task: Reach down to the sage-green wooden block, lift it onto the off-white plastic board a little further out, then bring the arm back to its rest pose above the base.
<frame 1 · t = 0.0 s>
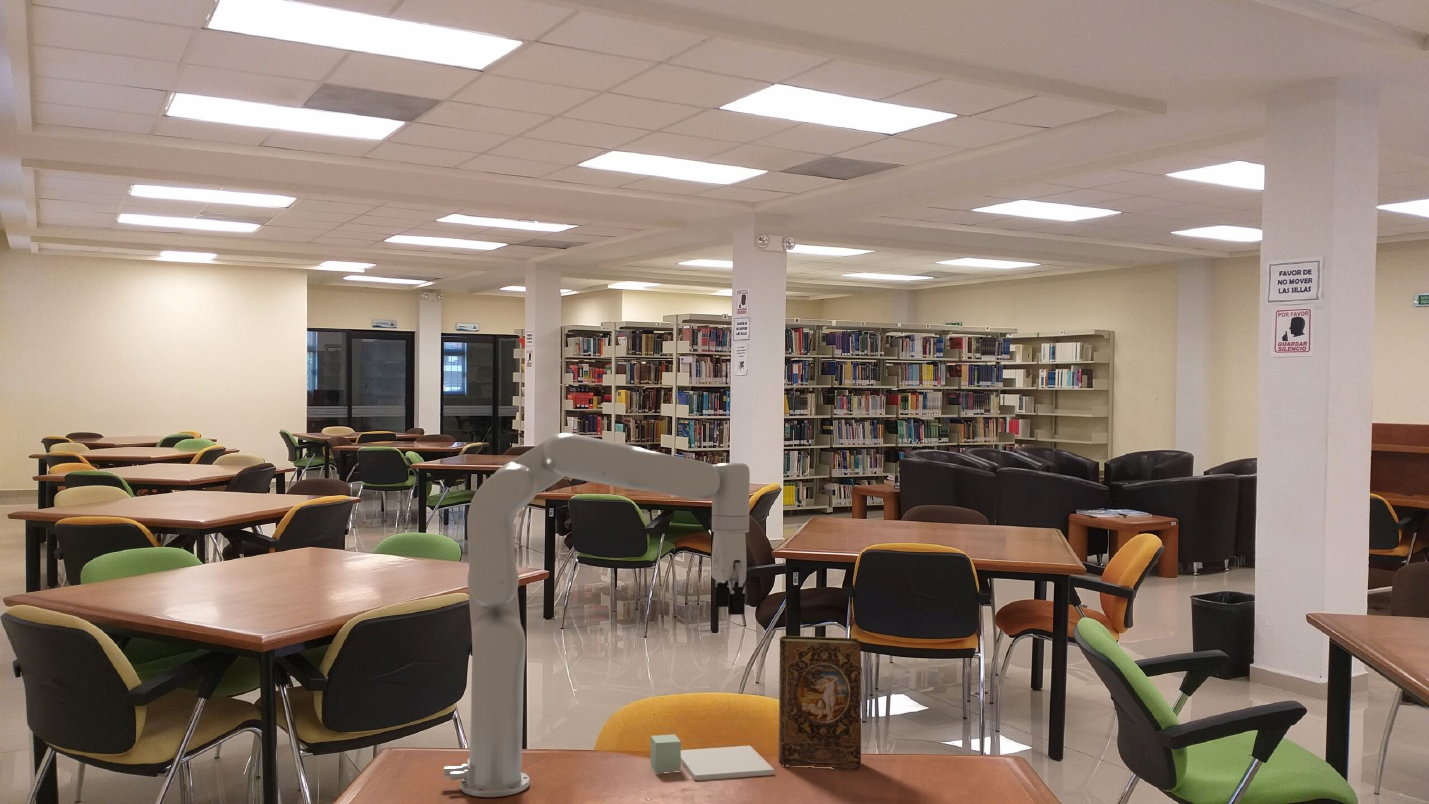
hand: (729, 610, 193), 31 cm above the table, fingers open, 9 cm apart
pale board: (723, 764, 195), on the table
block: (665, 769, 191), on the table
book: (819, 765, 196), on the table
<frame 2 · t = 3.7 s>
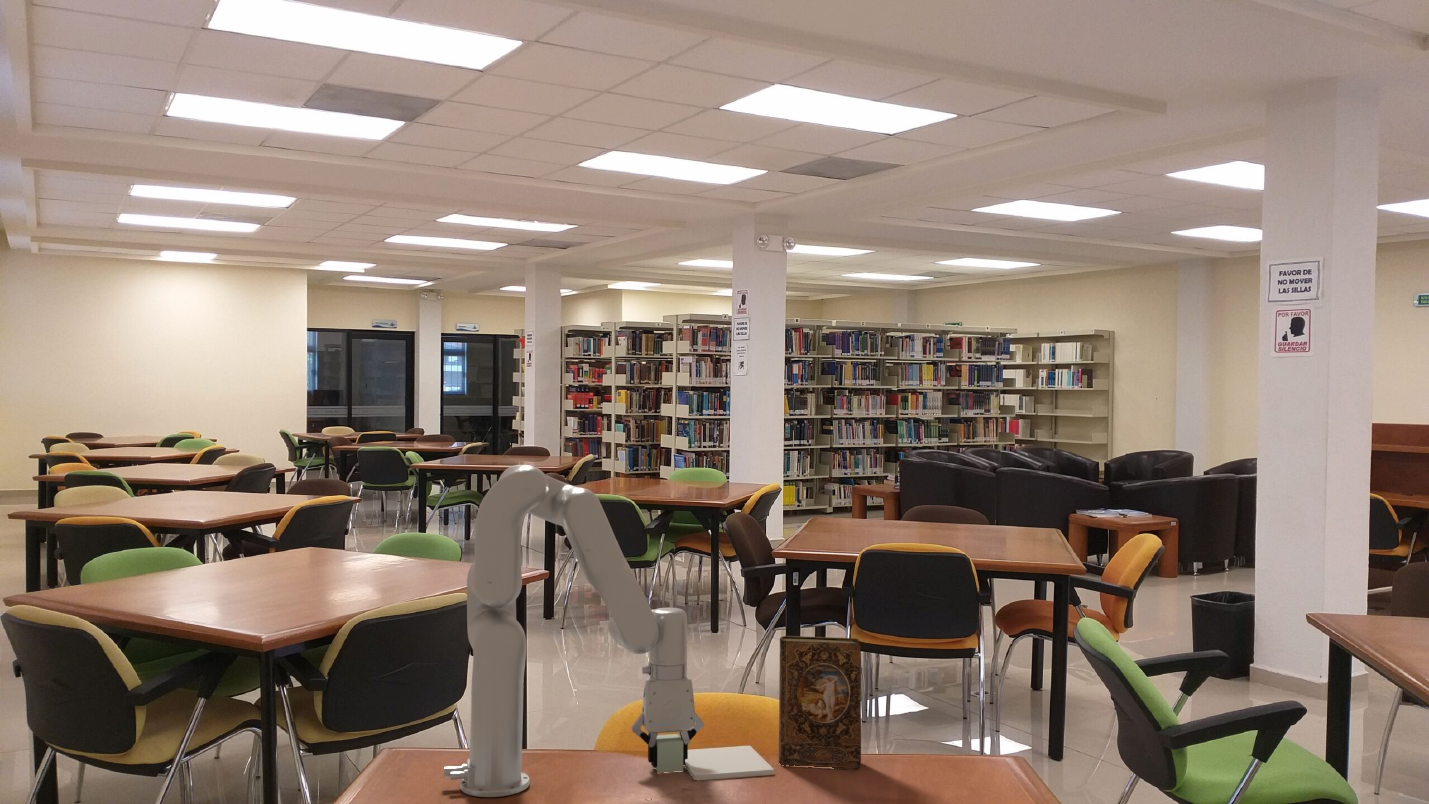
hand: (667, 763, 192), 1 cm above the table, fingers closed on block, 5 cm apart
block: (667, 769, 192), on the table, touching gripper
everything else where it was.
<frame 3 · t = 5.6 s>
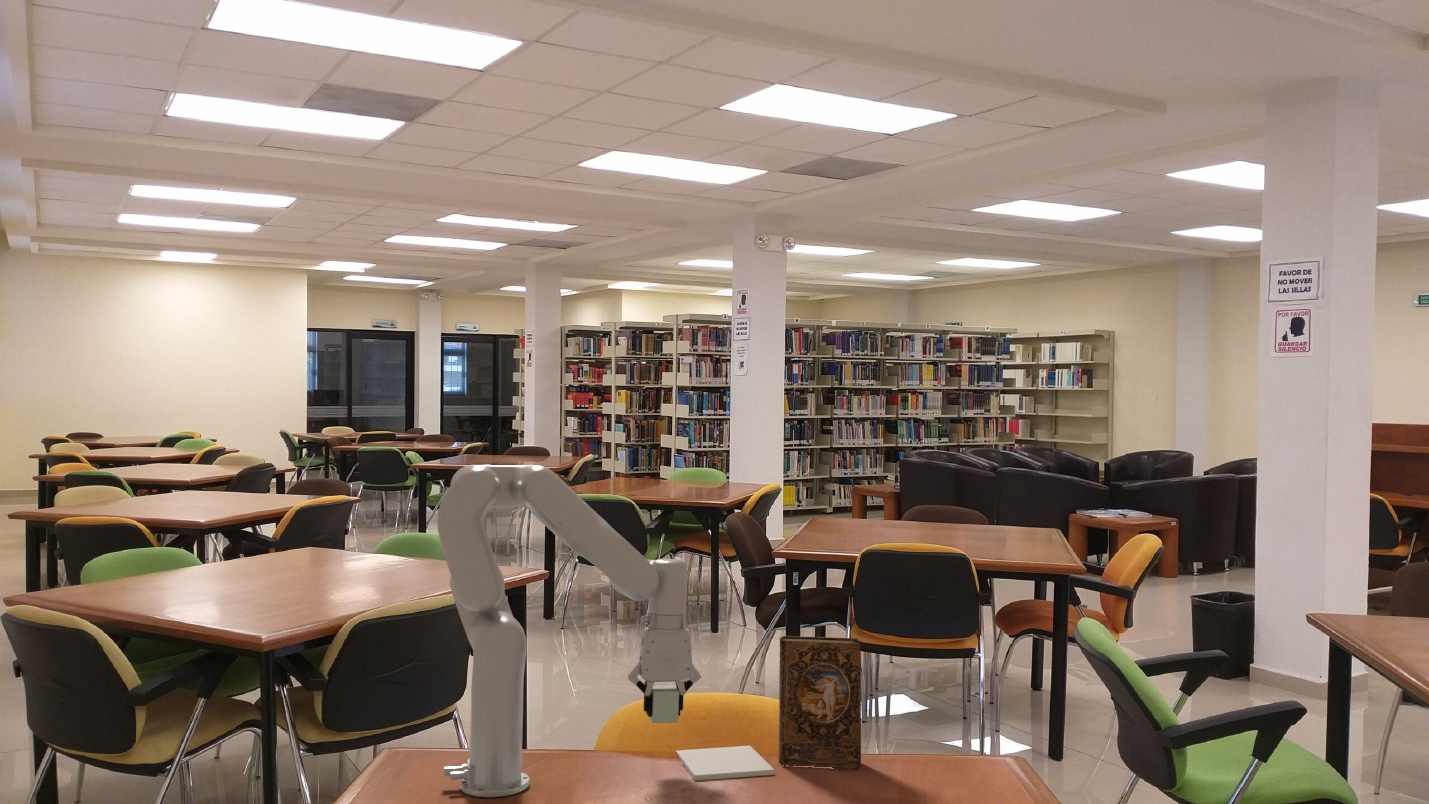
hand: (663, 713, 192), 11 cm above the table, fingers closed on block, 5 cm apart
block: (662, 719, 192), point 10 cm above the table, touching gripper
everything else where it was.
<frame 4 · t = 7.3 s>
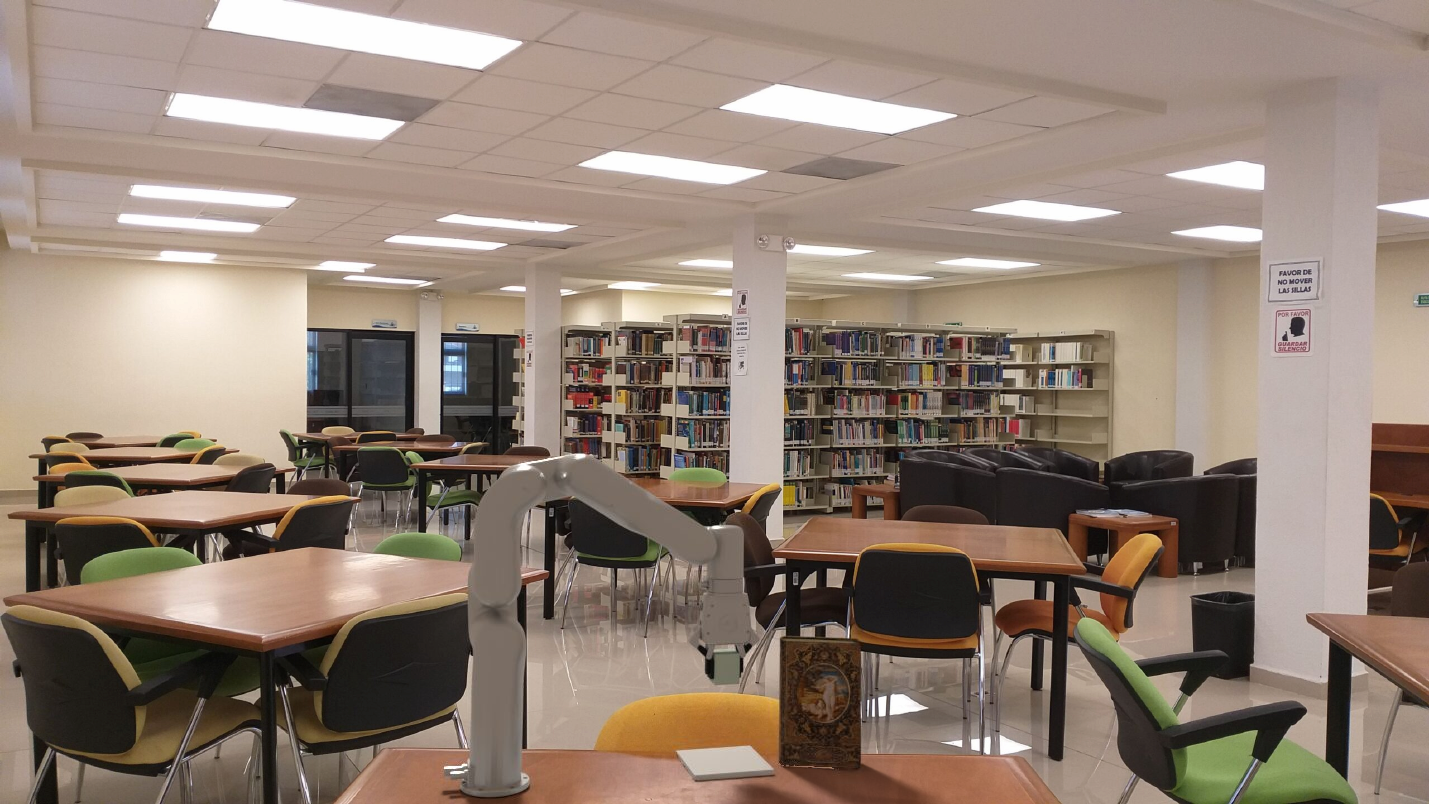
hand: (724, 676, 196), 18 cm above the table, fingers closed on block, 5 cm apart
block: (724, 681, 195), point 16 cm above the table, touching gripper
everything else where it was.
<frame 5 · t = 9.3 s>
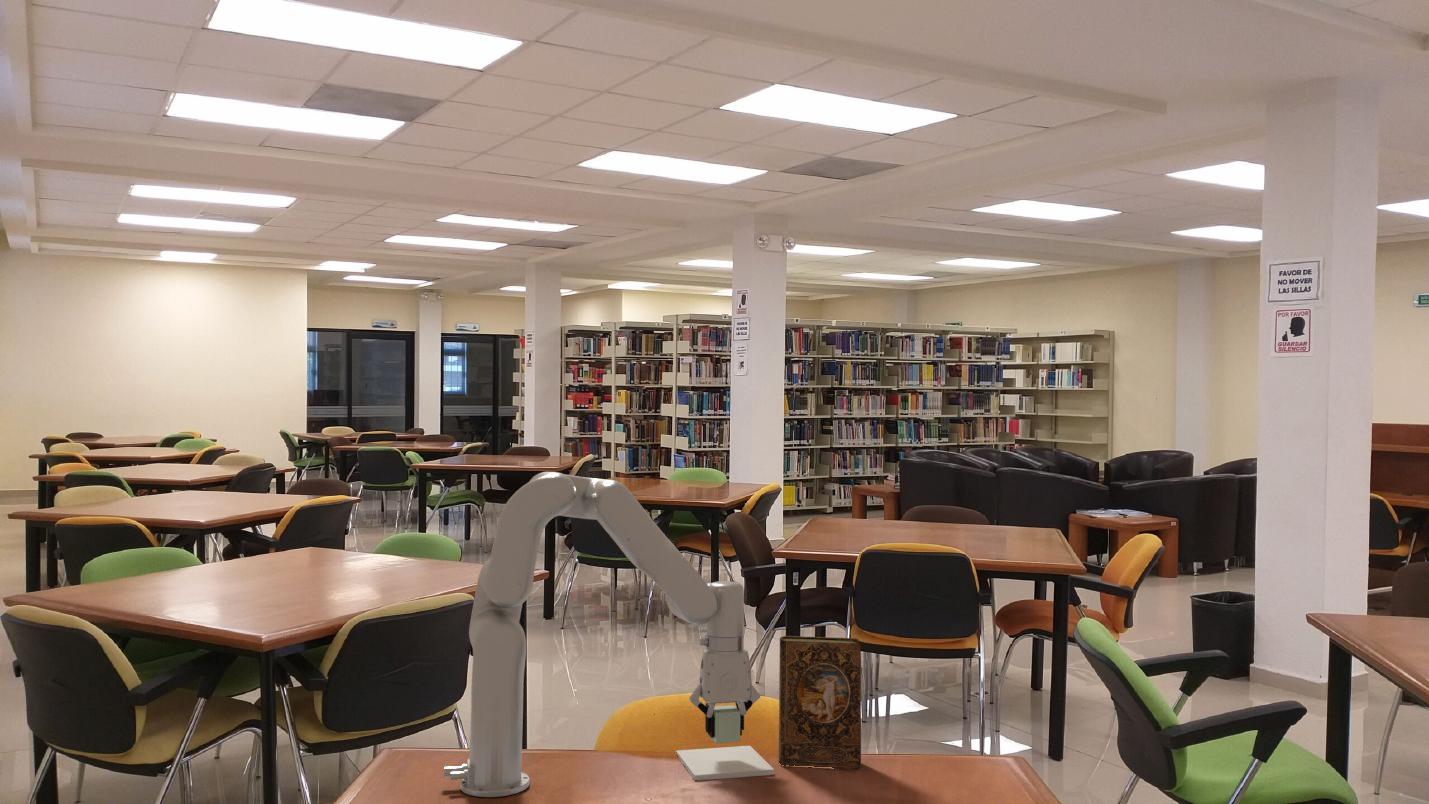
hand: (724, 733, 195), 6 cm above the table, fingers closed on block, 5 cm apart
block: (724, 739, 195), point 5 cm above the table, touching gripper
everything else where it was.
when the fingers open (3 cm above the table, at t = 10.8 s): block stays where it is, resting on pale board.
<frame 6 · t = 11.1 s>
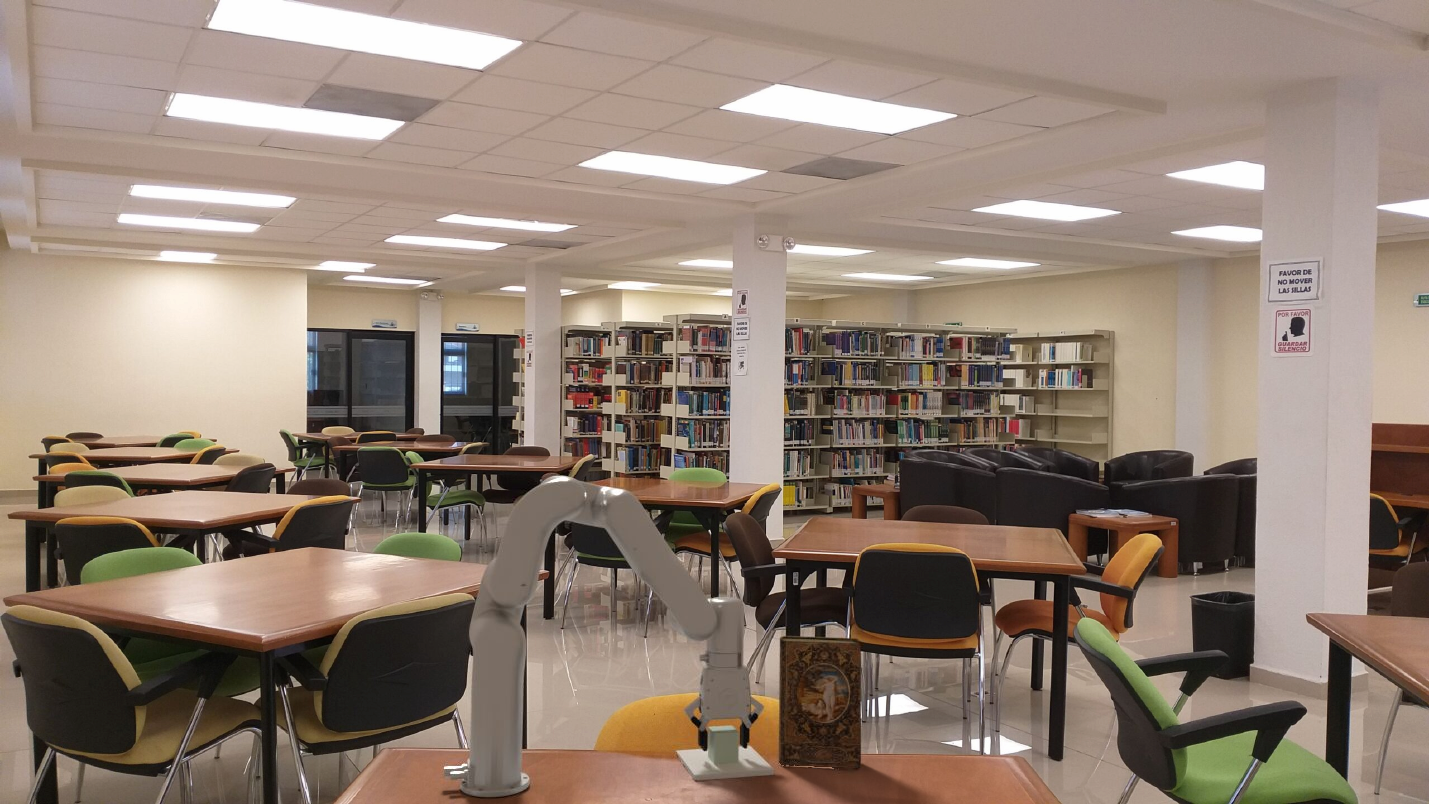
hand: (723, 747, 195), 3 cm above the table, fingers open, 7 cm apart
block: (723, 759, 195), point 1 cm above the table, touching pale board
everything else where it was.
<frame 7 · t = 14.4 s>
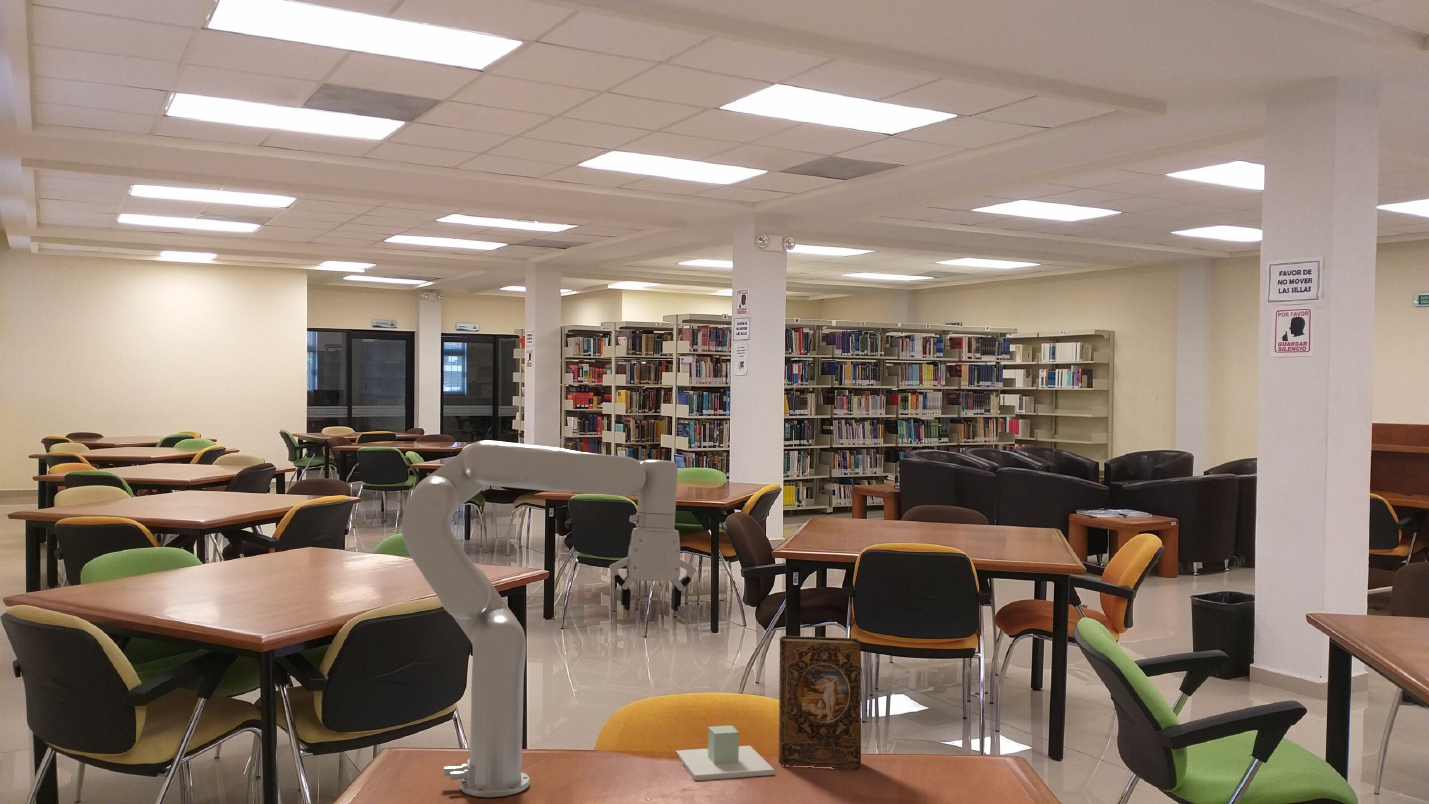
hand: (650, 609, 190), 32 cm above the table, fingers open, 9 cm apart
nothing on the table moved.
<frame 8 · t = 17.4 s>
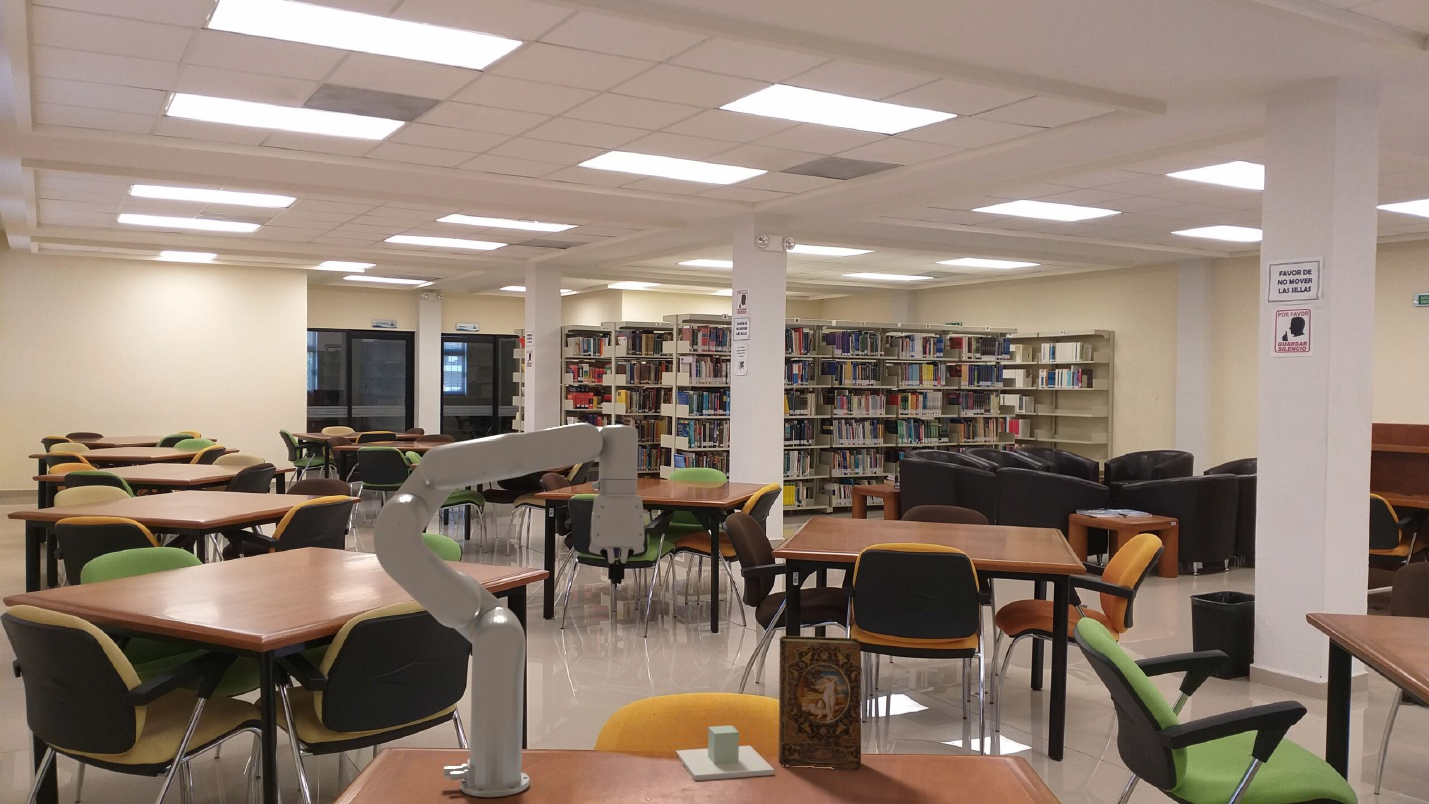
hand: (616, 583, 188), 37 cm above the table, fingers closed
nothing on the table moved.
at the end: block inside the target area on the pale board (0.1 cm from its centre), point 1.0 cm above the pale board's base; block tilted 0°; the gripper is holding nothing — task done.
